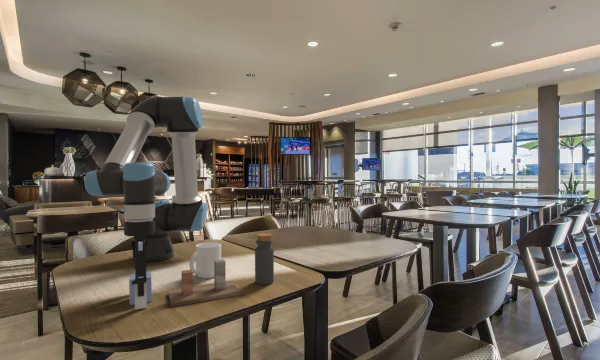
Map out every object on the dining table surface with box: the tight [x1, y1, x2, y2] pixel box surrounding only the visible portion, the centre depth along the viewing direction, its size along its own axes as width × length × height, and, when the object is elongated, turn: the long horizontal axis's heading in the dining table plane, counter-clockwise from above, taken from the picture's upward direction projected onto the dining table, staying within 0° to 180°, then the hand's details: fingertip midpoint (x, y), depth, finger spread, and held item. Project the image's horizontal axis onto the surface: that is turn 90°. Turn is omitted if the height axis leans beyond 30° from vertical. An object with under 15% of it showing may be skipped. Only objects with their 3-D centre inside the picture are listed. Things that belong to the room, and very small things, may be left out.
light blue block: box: [128, 271, 153, 306], centre depth 87 cm, size 5×5×7 cm
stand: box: [167, 258, 241, 308], centre depth 90 cm, size 10×18×9 cm, turn 118°
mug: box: [188, 241, 222, 280], centre depth 107 cm, size 12×8×10 cm
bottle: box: [254, 232, 275, 286], centre depth 101 cm, size 6×6×15 cm
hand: (140, 299), depth 87 cm, fingers open, 12 cm apart
